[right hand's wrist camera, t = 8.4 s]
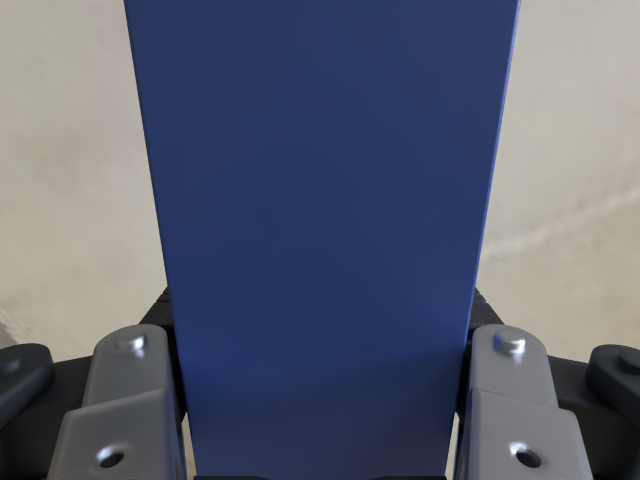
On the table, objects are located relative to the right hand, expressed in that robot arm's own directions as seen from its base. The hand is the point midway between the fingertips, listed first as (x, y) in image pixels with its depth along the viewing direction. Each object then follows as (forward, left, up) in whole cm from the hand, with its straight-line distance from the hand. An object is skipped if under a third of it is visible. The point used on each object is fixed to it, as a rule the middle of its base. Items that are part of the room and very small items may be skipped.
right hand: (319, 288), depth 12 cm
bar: (+10, +3, -4) cm, 11 cm away
